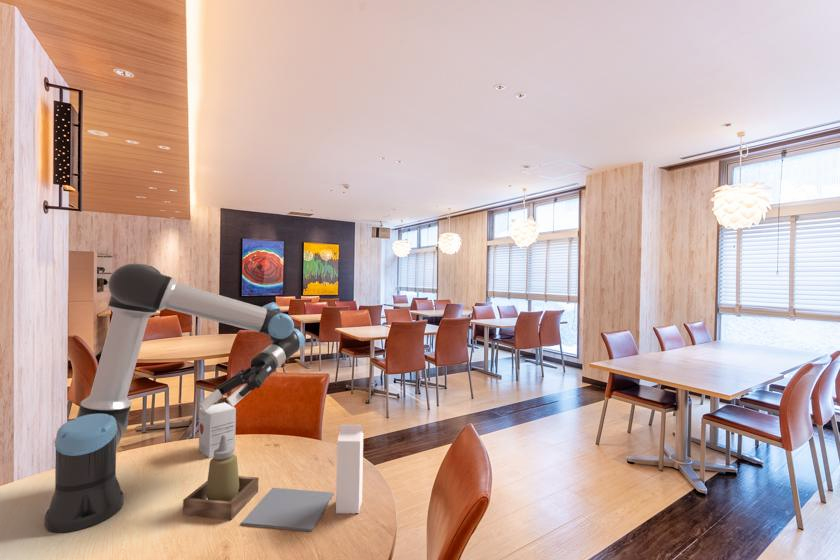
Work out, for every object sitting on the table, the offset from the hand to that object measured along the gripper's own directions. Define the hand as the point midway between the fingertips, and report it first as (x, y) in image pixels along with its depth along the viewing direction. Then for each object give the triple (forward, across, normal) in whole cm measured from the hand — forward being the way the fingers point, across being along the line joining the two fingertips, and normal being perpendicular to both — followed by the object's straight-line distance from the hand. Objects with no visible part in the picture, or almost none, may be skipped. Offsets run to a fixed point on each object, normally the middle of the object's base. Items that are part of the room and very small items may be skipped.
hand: (215, 405), depth 109 cm
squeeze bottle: (+12, 0, -23) cm, 26 cm away
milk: (+1, -28, -37) cm, 47 cm away
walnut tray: (+12, 0, -22) cm, 26 cm away
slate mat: (+7, -16, -30) cm, 35 cm away
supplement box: (-7, +30, -22) cm, 38 cm away
